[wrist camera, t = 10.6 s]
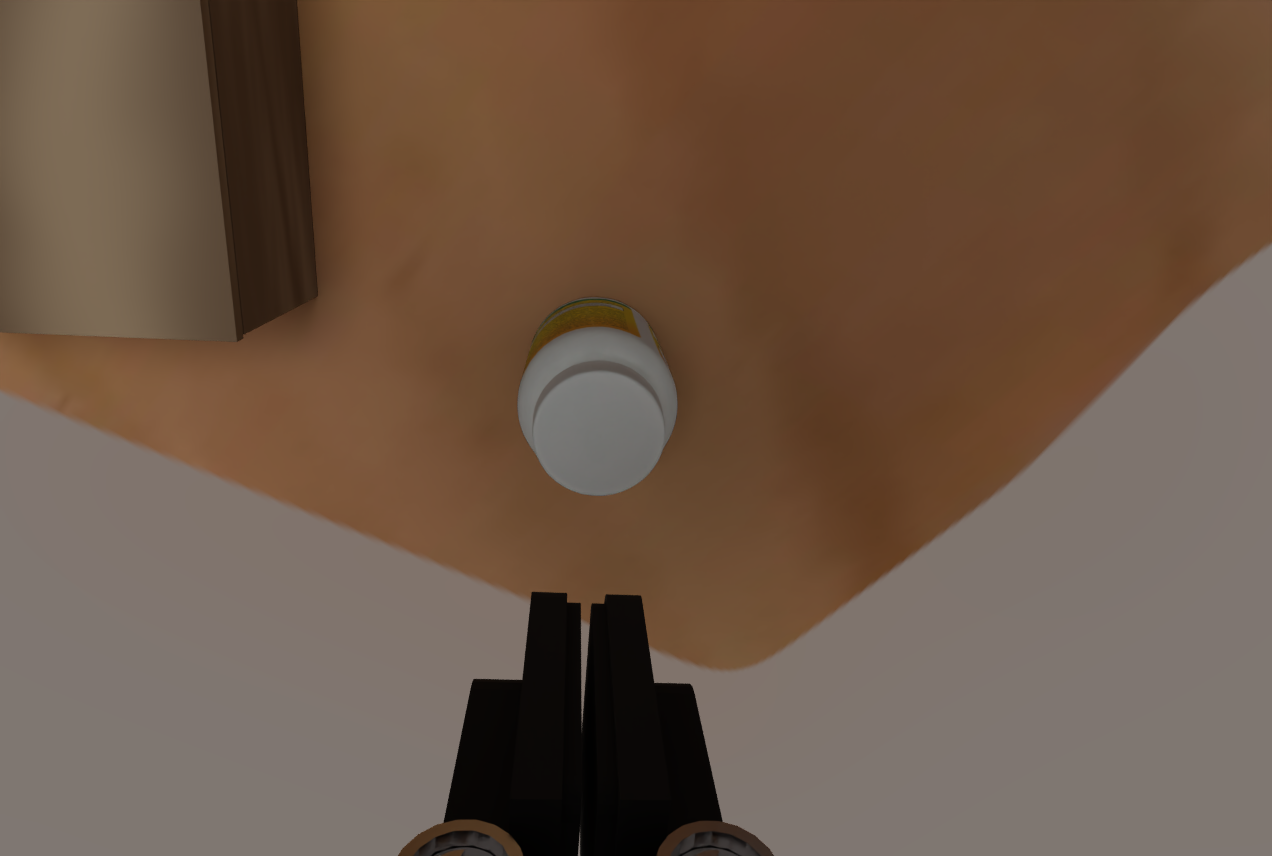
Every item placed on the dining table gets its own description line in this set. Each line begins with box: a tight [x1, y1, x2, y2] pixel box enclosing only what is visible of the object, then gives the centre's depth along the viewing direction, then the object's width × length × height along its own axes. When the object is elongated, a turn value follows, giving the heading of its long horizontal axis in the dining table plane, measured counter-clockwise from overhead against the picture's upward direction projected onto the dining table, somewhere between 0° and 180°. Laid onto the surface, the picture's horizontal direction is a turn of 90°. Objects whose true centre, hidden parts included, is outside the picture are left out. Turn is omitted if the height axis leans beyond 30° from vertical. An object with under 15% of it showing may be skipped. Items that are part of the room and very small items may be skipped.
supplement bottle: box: [517, 297, 677, 496], centre depth 27 cm, size 5×5×10 cm
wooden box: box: [208, 0, 318, 334], centre depth 24 cm, size 12×14×7 cm
